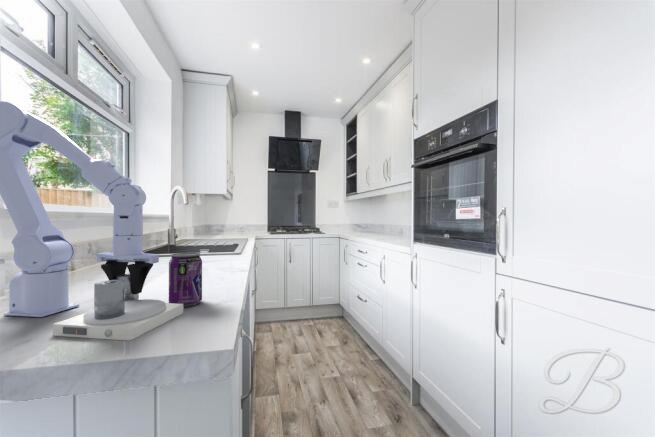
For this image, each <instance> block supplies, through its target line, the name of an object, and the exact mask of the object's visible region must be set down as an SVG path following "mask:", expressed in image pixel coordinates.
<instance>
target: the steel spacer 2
mask: <svg viewBox="0 0 655 437" xmlns="http://www.w3.org/2000/svg"><path fill="white" fill-rule="evenodd" d="M116 280H125V301H131V300H140V299H139V295H140V293H138V294H135V295H134V294H132V291H131V277H130V273H125V274H121V275H117V276H116Z"/></svg>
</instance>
